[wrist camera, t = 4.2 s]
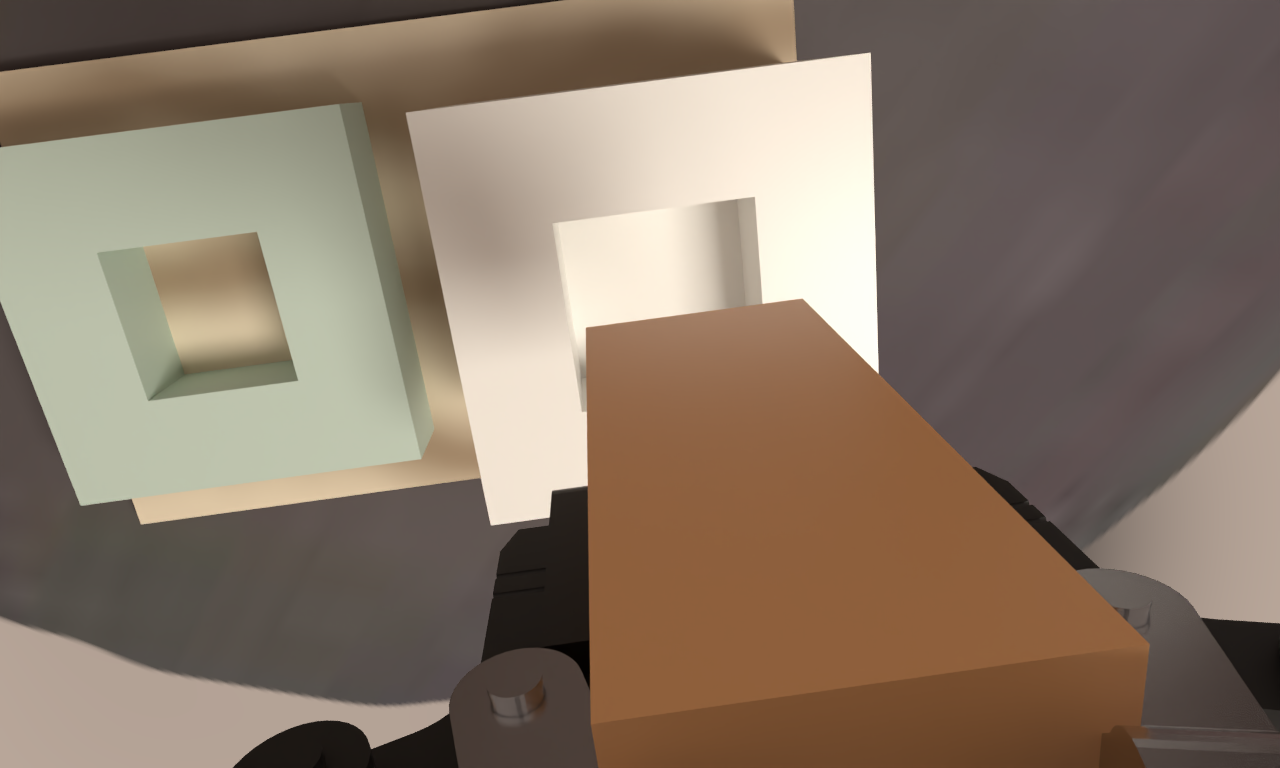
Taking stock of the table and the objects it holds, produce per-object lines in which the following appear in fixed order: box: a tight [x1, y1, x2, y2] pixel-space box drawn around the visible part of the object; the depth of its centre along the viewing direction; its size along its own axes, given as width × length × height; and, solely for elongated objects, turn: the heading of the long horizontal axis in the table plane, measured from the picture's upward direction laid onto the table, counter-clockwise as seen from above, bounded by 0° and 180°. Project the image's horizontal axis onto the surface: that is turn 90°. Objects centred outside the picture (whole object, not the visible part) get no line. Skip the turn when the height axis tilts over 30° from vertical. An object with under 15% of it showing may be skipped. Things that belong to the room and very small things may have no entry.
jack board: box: [0, 0, 797, 524], centre depth 33 cm, size 18×29×1 cm, turn 97°
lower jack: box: [0, 102, 434, 506], centre depth 31 cm, size 13×13×3 cm
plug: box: [586, 298, 1150, 768], centre depth 11 cm, size 5×4×10 cm
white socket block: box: [406, 53, 878, 525], centre depth 28 cm, size 12×12×10 cm
